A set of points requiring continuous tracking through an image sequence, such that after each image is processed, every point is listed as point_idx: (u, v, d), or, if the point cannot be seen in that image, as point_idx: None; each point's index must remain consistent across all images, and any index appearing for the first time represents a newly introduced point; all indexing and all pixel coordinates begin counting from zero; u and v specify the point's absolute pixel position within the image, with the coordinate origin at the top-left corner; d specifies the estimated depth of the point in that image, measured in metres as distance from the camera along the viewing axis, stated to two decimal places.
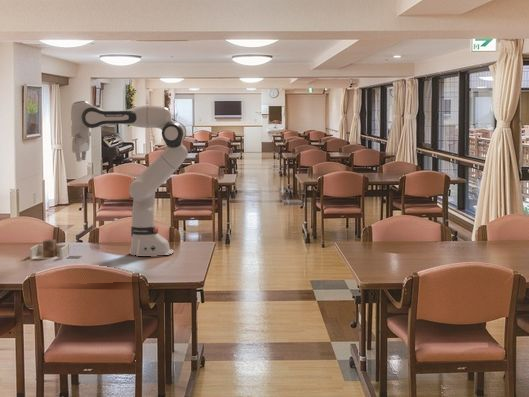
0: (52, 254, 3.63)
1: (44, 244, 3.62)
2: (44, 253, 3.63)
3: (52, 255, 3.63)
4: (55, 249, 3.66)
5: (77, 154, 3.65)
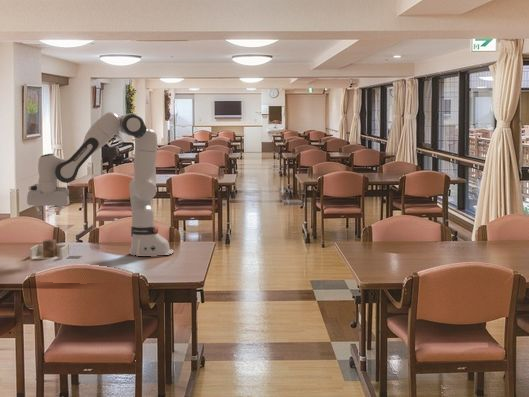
0: (52, 254, 3.63)
1: (44, 244, 3.62)
2: (44, 253, 3.63)
3: (52, 255, 3.63)
4: (55, 249, 3.66)
5: (61, 207, 3.62)
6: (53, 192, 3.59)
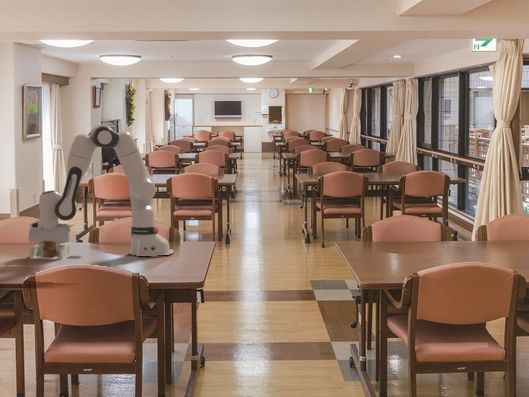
0: (52, 254, 3.63)
1: (44, 244, 3.62)
2: (44, 253, 3.63)
3: (52, 255, 3.63)
4: None
5: (59, 243, 3.64)
6: (54, 229, 3.62)
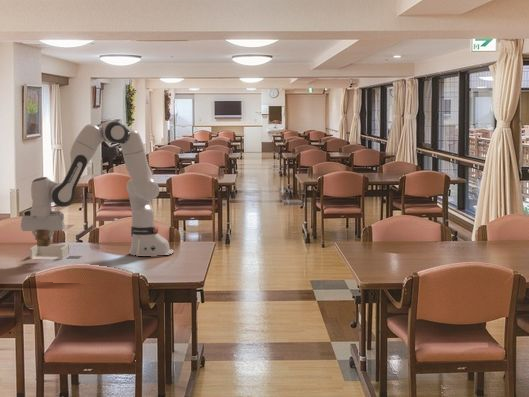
0: (46, 243, 3.52)
1: (37, 233, 3.51)
2: (38, 242, 3.52)
3: (46, 244, 3.52)
4: None
5: (53, 232, 3.53)
6: (47, 217, 3.51)
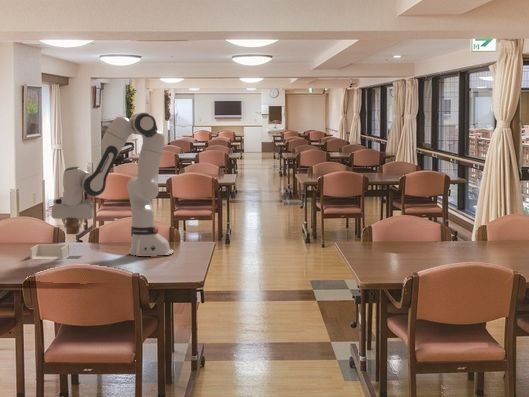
0: (75, 231, 3.59)
1: (67, 221, 3.59)
2: (67, 230, 3.59)
3: (75, 232, 3.59)
4: None
5: (82, 220, 3.61)
6: (78, 205, 3.58)
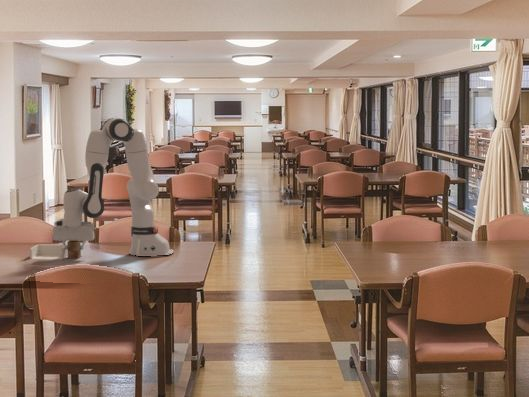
0: (76, 255, 3.61)
1: (68, 245, 3.60)
2: (68, 254, 3.61)
3: (76, 256, 3.61)
4: (79, 250, 3.64)
5: (84, 242, 3.62)
6: (78, 227, 3.60)
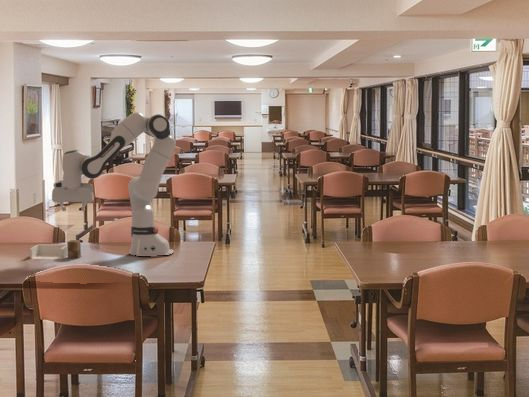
0: (76, 255, 3.61)
1: (68, 245, 3.60)
2: (68, 254, 3.61)
3: (76, 256, 3.61)
4: (79, 250, 3.64)
5: (86, 203, 3.65)
6: (78, 188, 3.62)
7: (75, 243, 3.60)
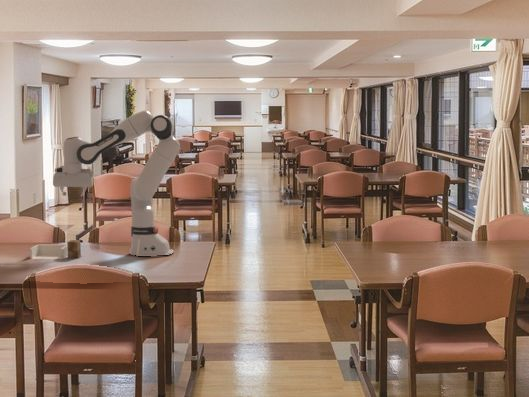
0: (76, 255, 3.61)
1: (68, 245, 3.60)
2: (68, 254, 3.61)
3: (76, 256, 3.61)
4: (79, 250, 3.64)
5: (85, 188, 3.76)
6: (78, 174, 3.74)
7: (75, 243, 3.60)
